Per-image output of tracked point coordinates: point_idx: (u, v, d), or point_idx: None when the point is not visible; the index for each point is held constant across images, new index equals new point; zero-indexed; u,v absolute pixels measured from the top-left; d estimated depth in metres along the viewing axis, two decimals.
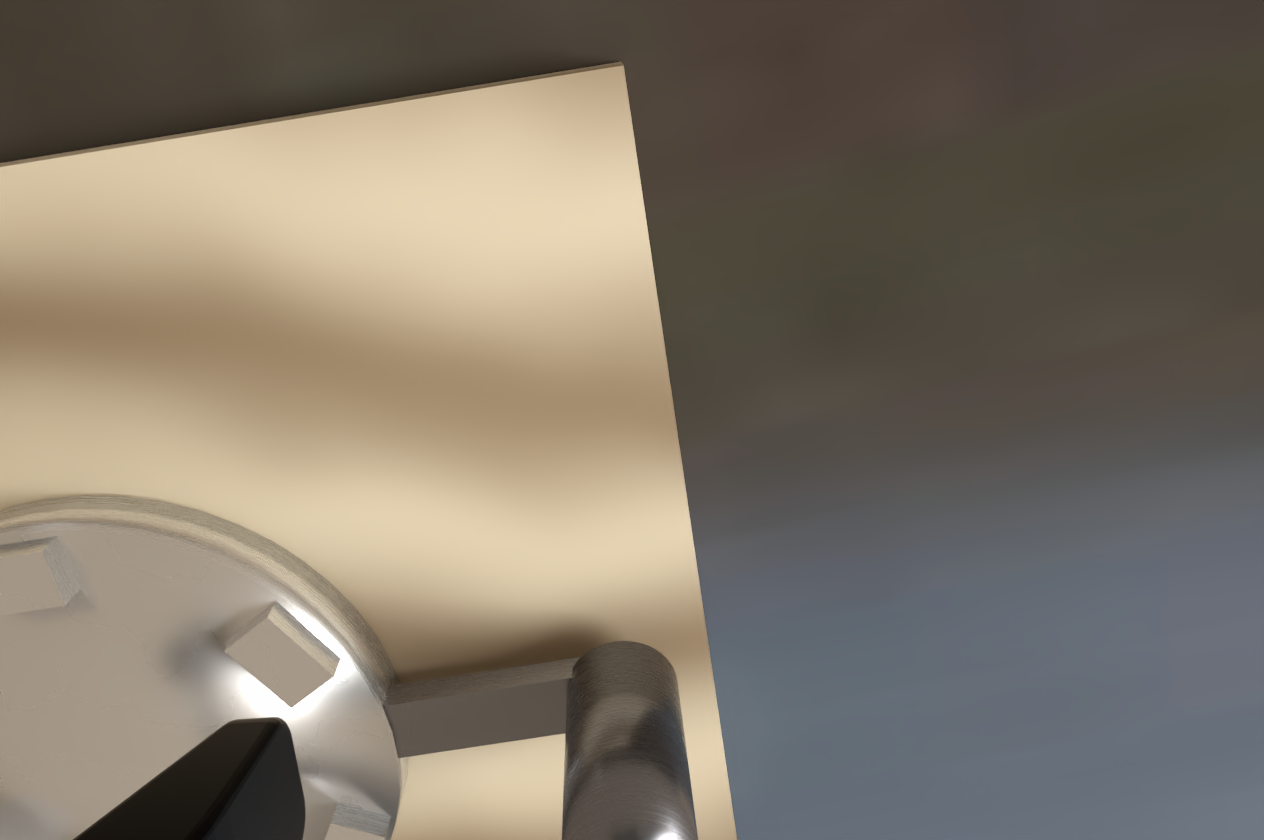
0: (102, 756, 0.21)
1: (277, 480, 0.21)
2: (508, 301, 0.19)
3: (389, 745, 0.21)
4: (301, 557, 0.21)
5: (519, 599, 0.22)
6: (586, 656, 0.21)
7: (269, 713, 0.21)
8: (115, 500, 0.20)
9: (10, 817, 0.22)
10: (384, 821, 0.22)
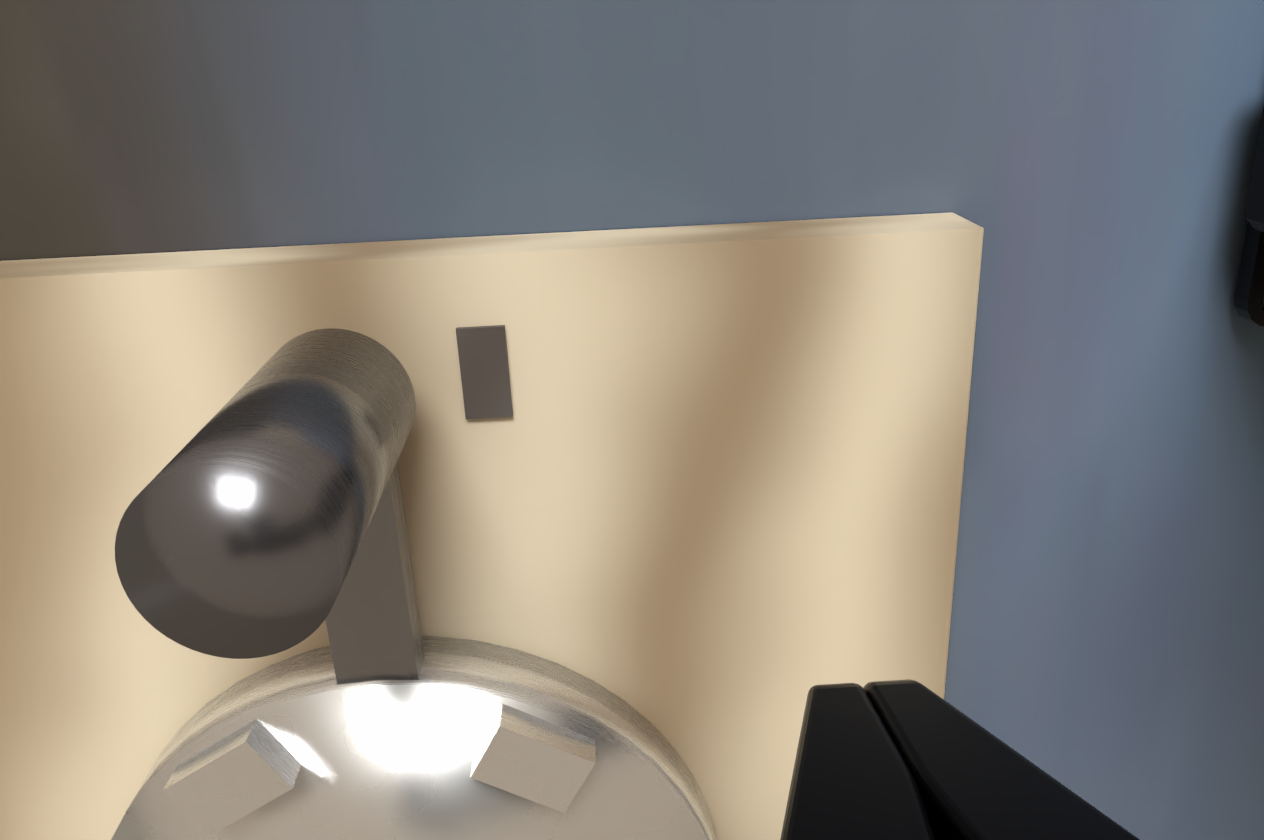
0: None
1: (107, 710, 0.19)
2: None
3: (392, 687, 0.17)
4: None
5: None
6: None
7: (334, 797, 0.18)
8: None
9: None
10: (498, 714, 0.17)
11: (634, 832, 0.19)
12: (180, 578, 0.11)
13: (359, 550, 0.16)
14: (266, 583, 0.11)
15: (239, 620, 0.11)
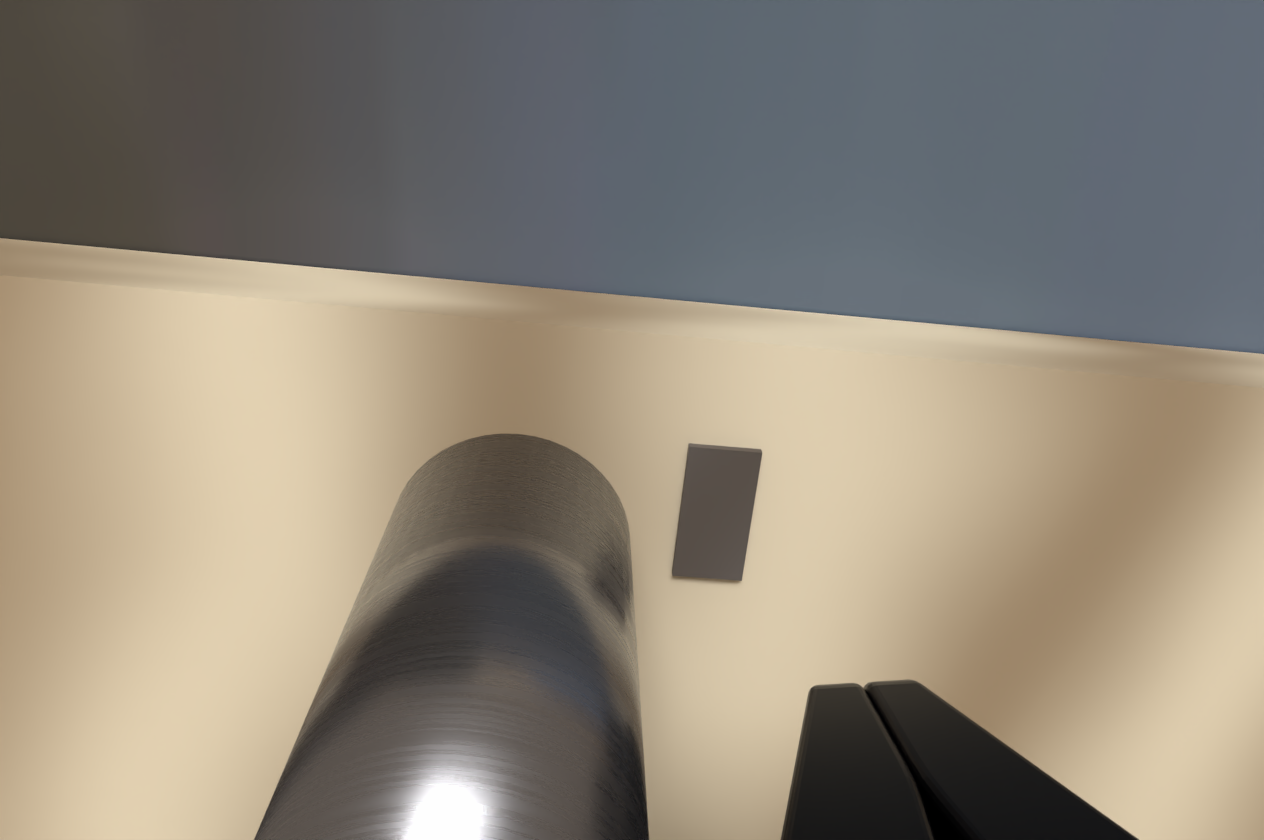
0: None
1: None
2: None
3: None
4: None
5: None
6: None
7: None
8: None
9: None
10: None
11: None
12: None
13: None
14: None
15: None
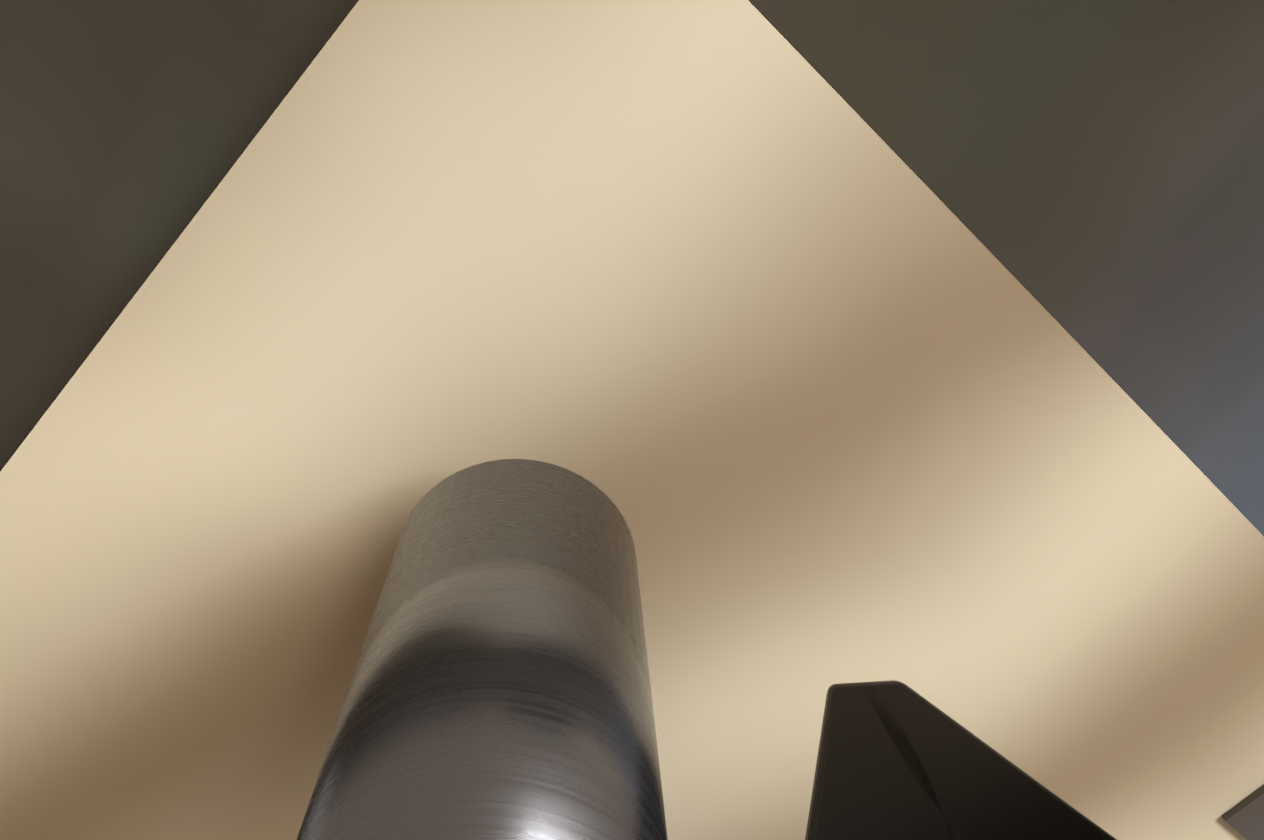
0: None
1: None
2: (642, 317, 0.10)
3: None
4: None
5: (975, 723, 0.12)
6: None
7: None
8: None
9: None
10: None
11: None
12: None
13: None
14: None
15: None
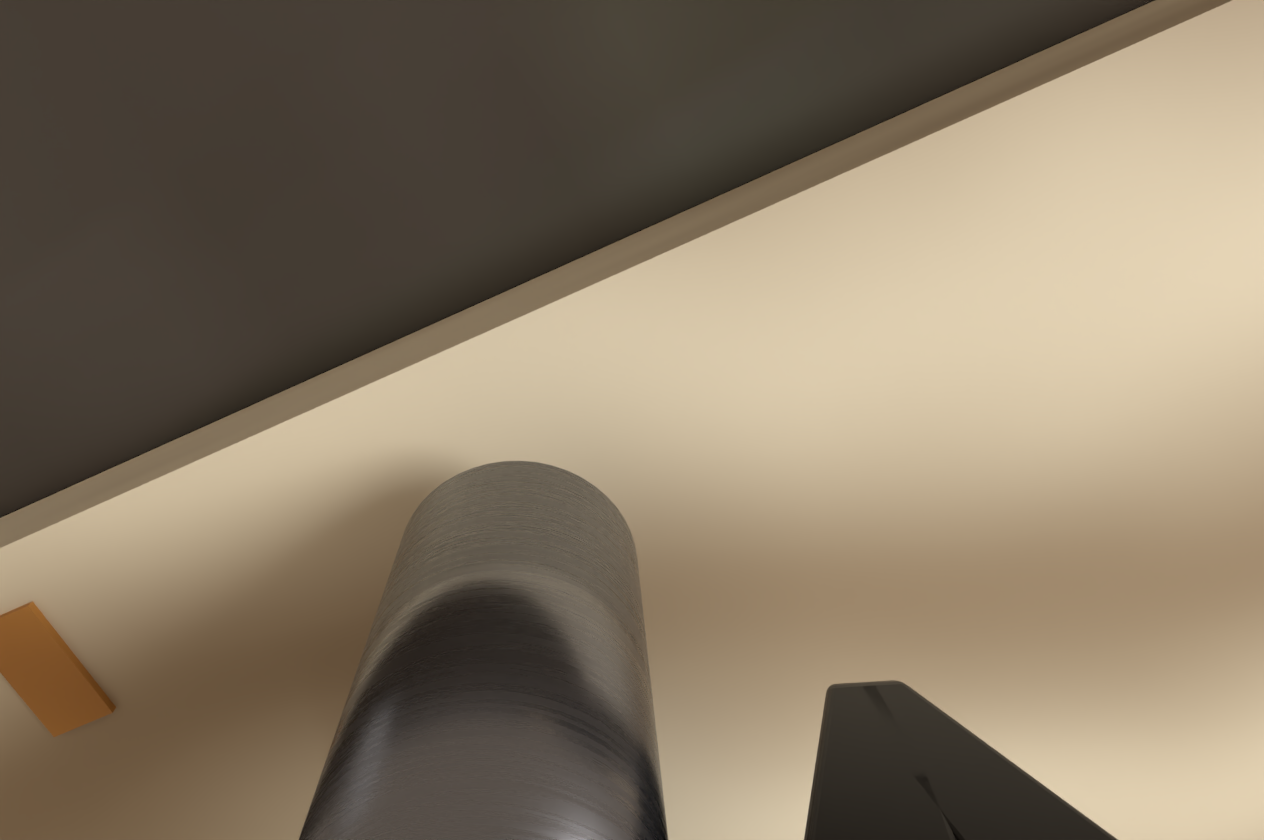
0: None
1: (767, 793, 0.13)
2: (1129, 429, 0.11)
3: None
4: None
5: None
6: None
7: None
8: None
9: None
10: None
11: None
12: None
13: None
14: None
15: None
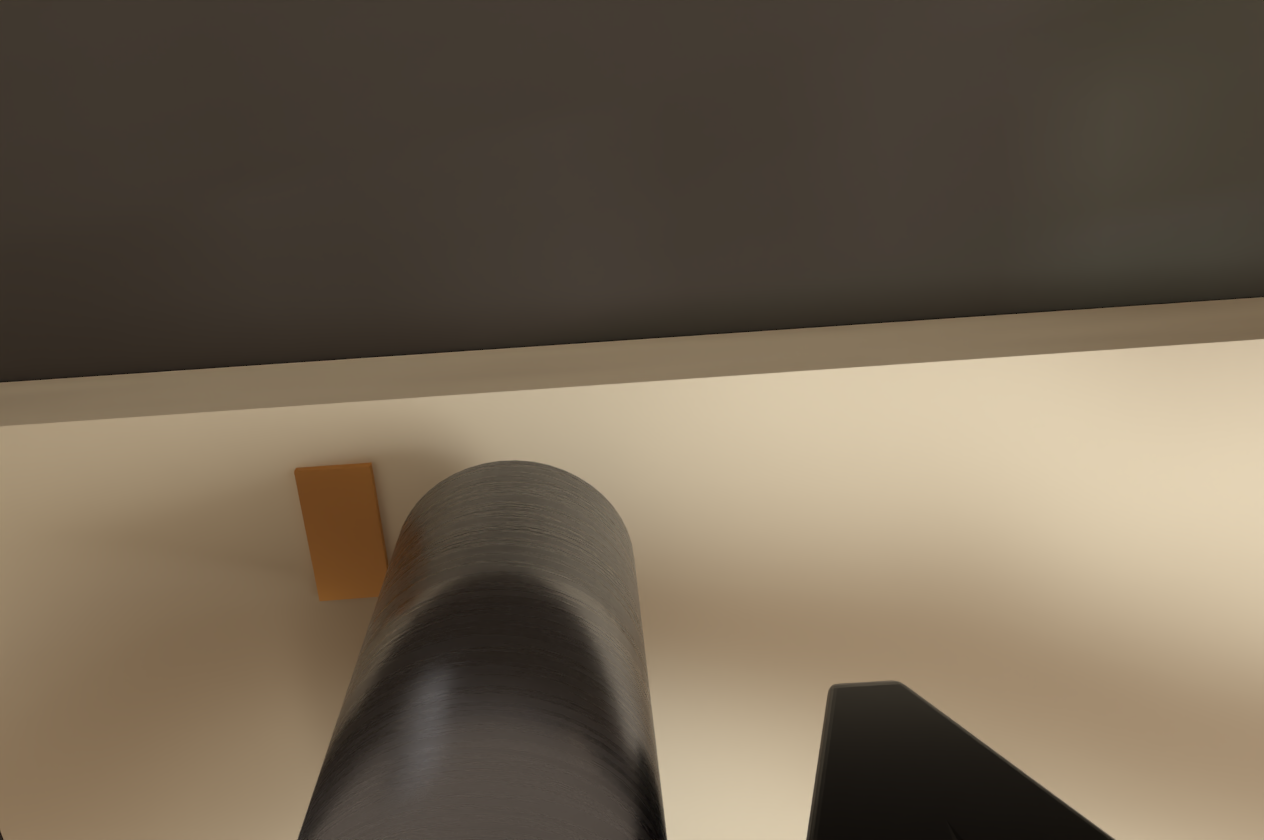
0: None
1: None
2: None
3: None
4: None
5: None
6: None
7: None
8: None
9: None
10: None
11: None
12: None
13: None
14: None
15: None
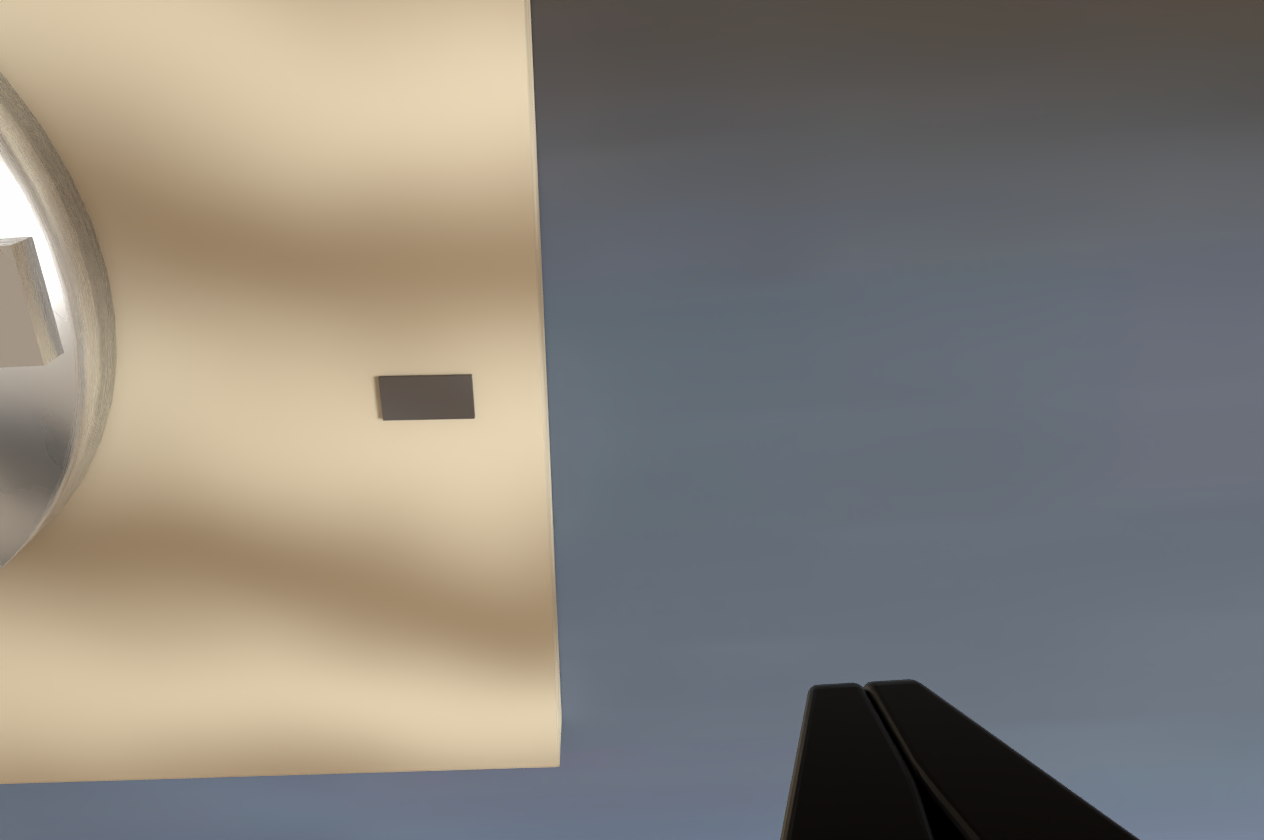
0: None
1: None
2: None
3: None
4: None
5: (281, 158, 0.16)
6: None
7: None
8: None
9: None
10: None
11: None
12: None
13: None
14: None
15: None
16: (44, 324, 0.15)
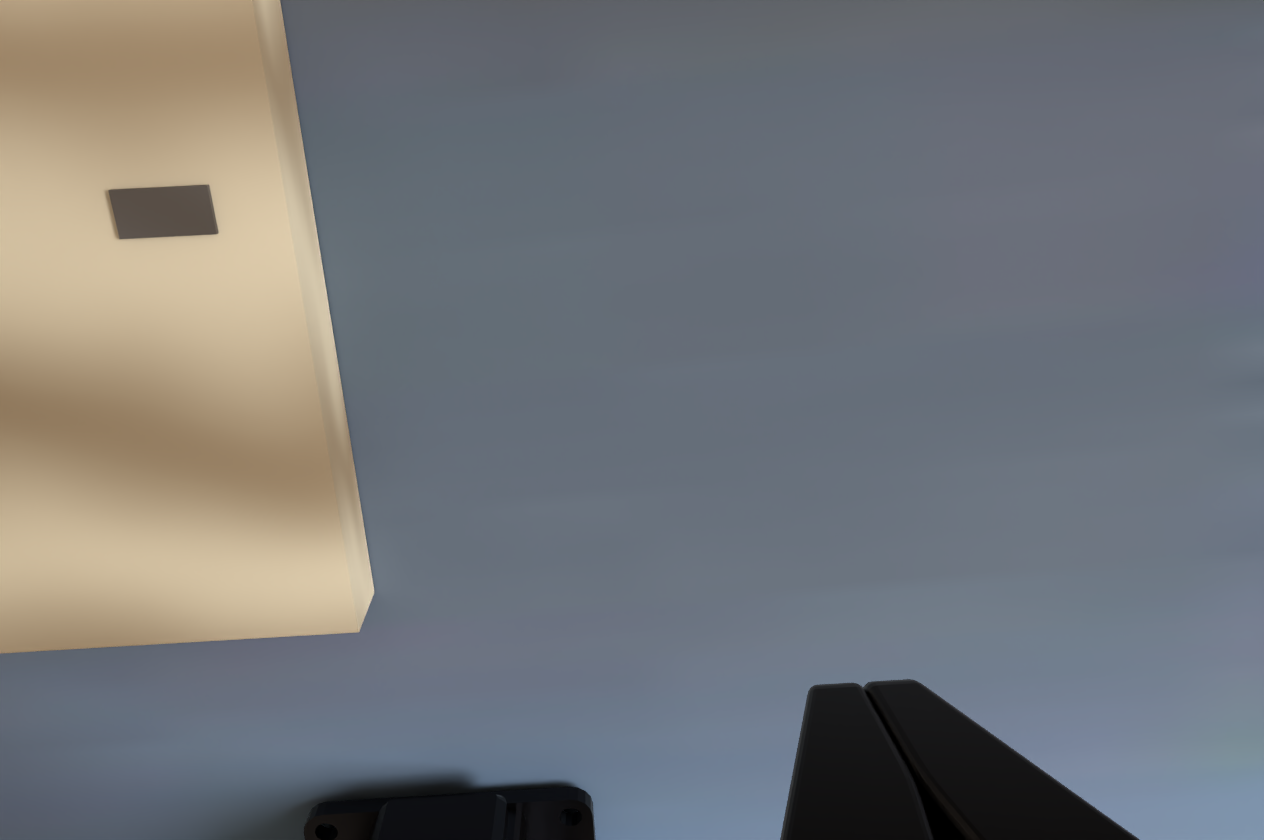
0: None
1: None
2: None
3: None
4: None
5: None
6: None
7: None
8: None
9: None
10: None
11: None
12: None
13: None
14: None
15: None
16: None
